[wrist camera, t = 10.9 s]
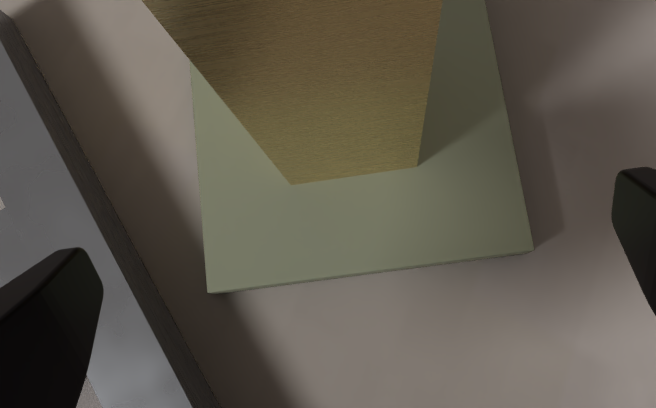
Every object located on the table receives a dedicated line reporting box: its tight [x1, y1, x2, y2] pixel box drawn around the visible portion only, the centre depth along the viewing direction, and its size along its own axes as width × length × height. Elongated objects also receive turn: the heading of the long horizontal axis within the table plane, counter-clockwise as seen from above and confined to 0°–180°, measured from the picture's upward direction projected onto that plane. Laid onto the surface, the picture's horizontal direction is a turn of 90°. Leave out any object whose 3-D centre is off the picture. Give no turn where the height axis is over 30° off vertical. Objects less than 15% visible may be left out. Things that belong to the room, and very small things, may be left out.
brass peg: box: [142, 0, 443, 185], centre depth 12 cm, size 4×4×13 cm
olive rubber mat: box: [190, 0, 534, 294], centre depth 18 cm, size 10×10×1 cm
